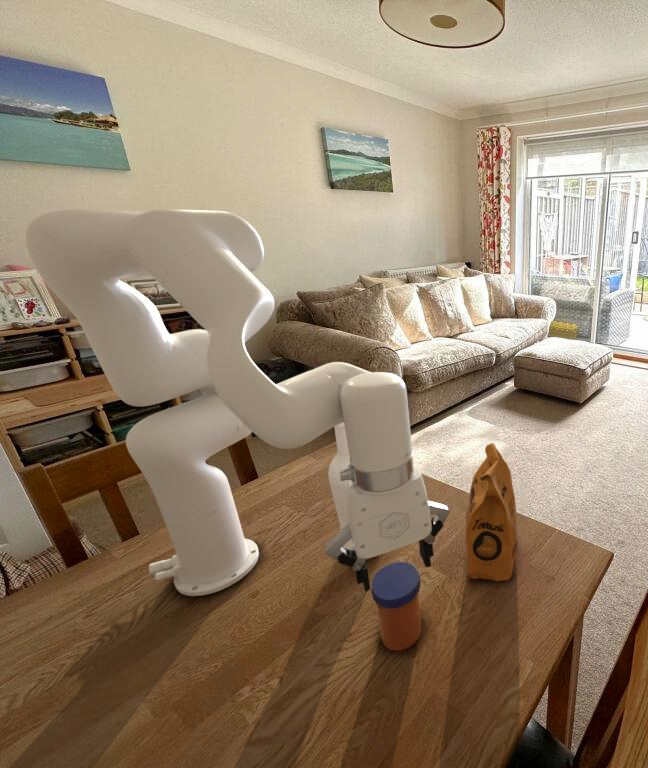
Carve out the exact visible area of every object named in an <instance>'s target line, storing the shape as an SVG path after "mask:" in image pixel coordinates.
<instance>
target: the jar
mask: <svg viewBox="0 0 648 768" xmlns="http://www.w3.org/2000/svg"><path fill="white" fill-rule="evenodd" d="M376 609H377V616H378V622H379V623H378V624H379V631H380V637H381V642H382V644H383V645H384V646H385V648H387V649H388V650H390V651H395V652H396V651H399V652H400V651H403V650H406V649H408V648H410V647H412V646H413V645H414V644H415V643H416V642H417V641H418V639H419V637H420V636H421V632H422V622H421V610H420V609H421V608H420V597H419V592H418V593H417V595H416V597H415V598H414V599H413V600H412V601H411V602H409V603H408V604H406V605H404V606H402V607H399V608H393V609H389V608H384V607H381V606H379V605H378V604H376Z"/></svg>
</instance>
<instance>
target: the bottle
mask: <svg viewBox="0 0 648 768" xmlns="http://www.w3.org/2000/svg"><path fill="white" fill-rule="evenodd" d="M333 428H334V436H335V442H336V450H337V453H336V454H335V456H334V457H333V459H332V460H331V461H330V464H329V467H328V470H327V474H328V475H327V476H328V483H329V487H330V490H331V494H332V498H333V502H334V506H335V511H336V514H337V519H338V522H339V526H340V527H339V528H340V530H339V532H340V531H341V530H342V529H343V528H344V527H345V526H346V525H348V524H349V515H348V488H349V482H350V480H349V481H348V480H345V481H341V479H340V474H339V471H340V470H344V469H345V468H348V465H350V456H349V450H348V443H347V437H346V431H345V424H344V422H343V423H341V424H338V425H336V426H334V427H333ZM353 547H354V546H353V542H352V538H351V539H350V540H349V541H348V542H347V543H346V544H345V545H343V546H342V548H346V549H349V550H352V549H353ZM369 559H370V558H367V559H366V560H369Z"/></svg>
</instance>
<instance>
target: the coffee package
mask: <svg viewBox="0 0 648 768" xmlns="http://www.w3.org/2000/svg"><path fill="white" fill-rule="evenodd" d="M484 453H485V455H486V458H485V459H484V460H483V461H482V463H481V464H480V466H479V467H478V468H477V470H476V471H475V473H474V474H473V477H472V481H471V485H470V491H469V495H468V501H467V506H466V507H467V508H466V514H465V515H466V517H465V535H464V536H465V537H464V538H465V547H466V560H467V567H466V570H467V571H466V572H467V574H468V576H469V577H470V578H471V579H474V580H476V579H483V580H486V581H487V580H490V581H494V582H496V583H498V582H503V581H508V580H510V579H511V577H512V573H513V569H514V566H515V565H514V564H515V559H516V558H517V555H518V518H517V517H518V515H517V505H516V498H515V492H514V491H515V490H514V485H513V478H512V472H511V469H510V467H509V466H508V463H507V461H505V459H504V458H503V456H502V454H501V453H500V451H499V450H498V448H497V447H496V444H495V443H494V442H491V443H488V444H487V445H486V446H485V449H484Z"/></svg>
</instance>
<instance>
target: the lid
mask: <svg viewBox="0 0 648 768" xmlns="http://www.w3.org/2000/svg"><path fill="white" fill-rule="evenodd" d="M420 589H421V576H420V572H419V570H418V569H417V567H416V566H415V565H414V564H412V563H409V562H407V561H406V562H405V561H396V562H392V563H389V564H387V565H385V566H383V567H382V568H380V569H379V570H378V571H377V572H376V573H375V574H374V575H373V578H372V581H371V583H370V590H371V596H372V600H373V601H374V602H375V604H376V605H377V604H378V605H379V606H381V607H384V608H389V609H393V608H399V607H402V606H404V605H406V604H408V603H409V602H411V601H412V600H413V599H414V598H415V597H416V595H417V593H418V594H419V592H420Z"/></svg>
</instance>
